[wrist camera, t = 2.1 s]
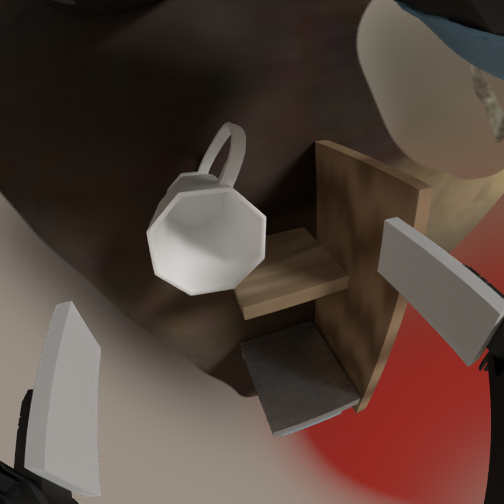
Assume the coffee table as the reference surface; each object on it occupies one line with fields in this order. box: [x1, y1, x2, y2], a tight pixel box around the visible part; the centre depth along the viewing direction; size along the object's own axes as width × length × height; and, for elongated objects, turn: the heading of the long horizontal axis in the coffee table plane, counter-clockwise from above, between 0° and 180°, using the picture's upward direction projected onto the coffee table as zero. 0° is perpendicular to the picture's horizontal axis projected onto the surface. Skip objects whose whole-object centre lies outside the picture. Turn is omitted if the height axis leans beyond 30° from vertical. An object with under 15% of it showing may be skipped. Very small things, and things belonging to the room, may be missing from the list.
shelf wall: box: [314, 140, 433, 413], centre depth 25 cm, size 25×1×12 cm, turn 7°
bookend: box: [240, 320, 360, 437], centre depth 29 cm, size 2×9×12 cm, turn 97°
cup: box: [146, 122, 266, 296], centre depth 19 cm, size 7×10×8 cm
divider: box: [233, 227, 349, 320], centre depth 23 cm, size 1×8×8 cm, turn 97°
